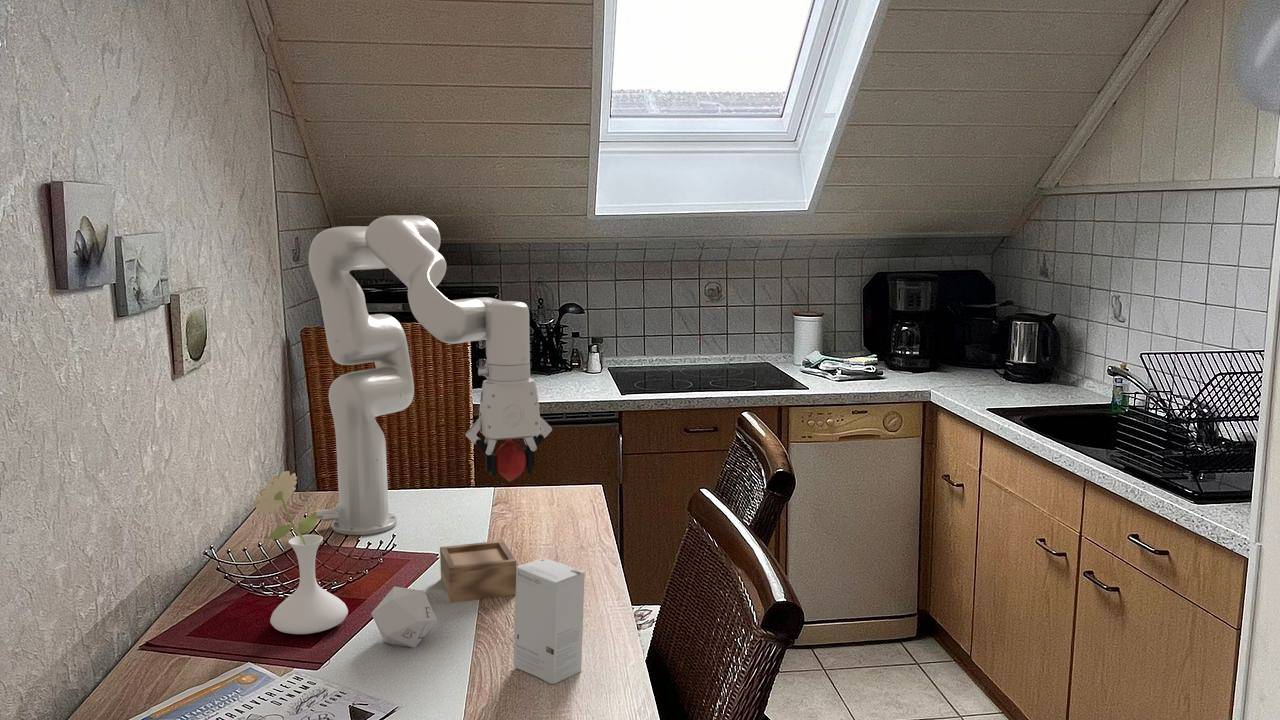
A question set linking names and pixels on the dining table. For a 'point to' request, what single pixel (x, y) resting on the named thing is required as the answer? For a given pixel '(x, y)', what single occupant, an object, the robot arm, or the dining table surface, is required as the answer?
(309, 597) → the flower in vase
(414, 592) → the die
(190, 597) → the dining table surface
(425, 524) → the dining table surface
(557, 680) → the skincare box
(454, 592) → the walnut box
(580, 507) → the dining table surface
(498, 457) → the onion
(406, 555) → the dining table surface
